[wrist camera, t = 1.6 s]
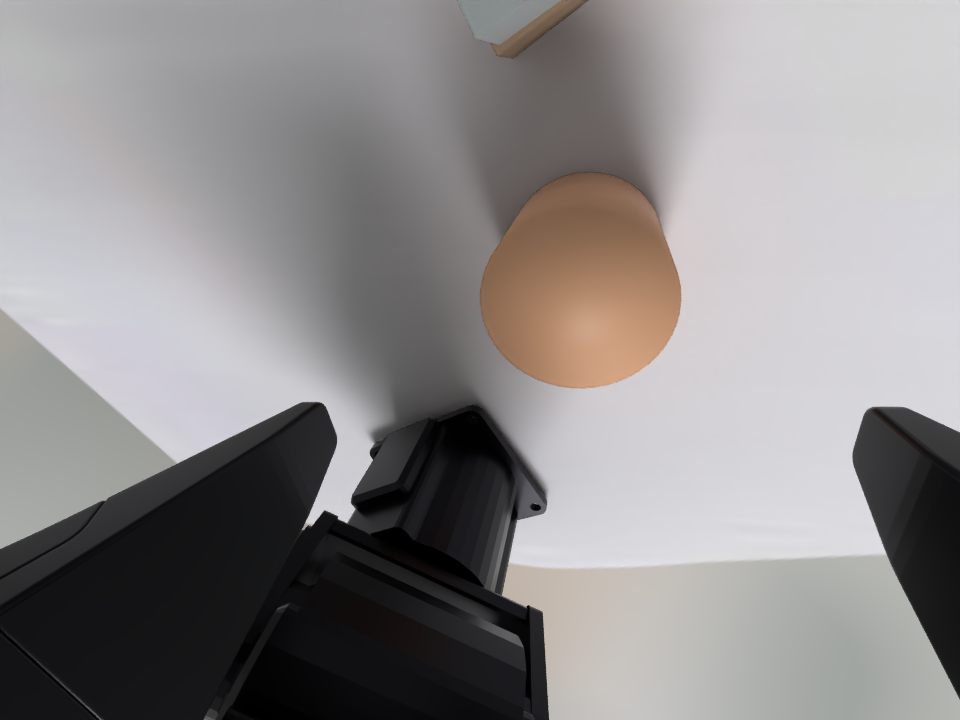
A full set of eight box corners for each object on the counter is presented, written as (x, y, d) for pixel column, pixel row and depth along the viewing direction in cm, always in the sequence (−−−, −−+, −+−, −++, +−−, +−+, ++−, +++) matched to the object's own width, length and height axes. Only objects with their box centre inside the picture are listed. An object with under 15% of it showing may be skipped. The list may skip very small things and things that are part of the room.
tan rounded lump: (687, 281, 15) (713, 347, 12) (552, 339, 18) (537, 410, 14) (622, 138, 14) (627, 162, 10) (482, 223, 16) (444, 268, 12)
